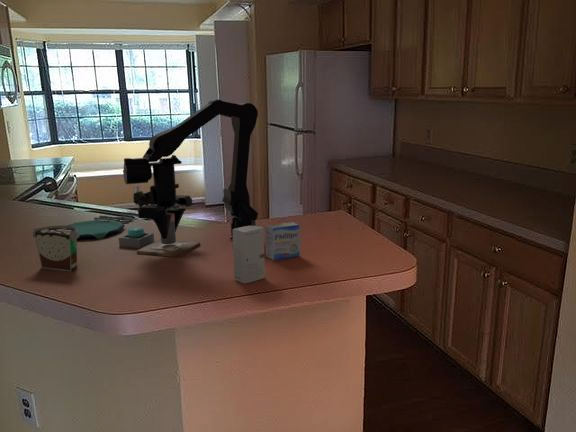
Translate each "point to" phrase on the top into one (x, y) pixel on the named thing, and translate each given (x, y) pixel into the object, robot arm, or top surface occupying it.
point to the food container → (57, 247)
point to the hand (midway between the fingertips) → (168, 236)
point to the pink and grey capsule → (170, 231)
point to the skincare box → (248, 253)
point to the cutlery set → (100, 226)
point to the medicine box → (282, 241)
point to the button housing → (136, 241)
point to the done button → (135, 232)
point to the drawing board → (169, 248)
